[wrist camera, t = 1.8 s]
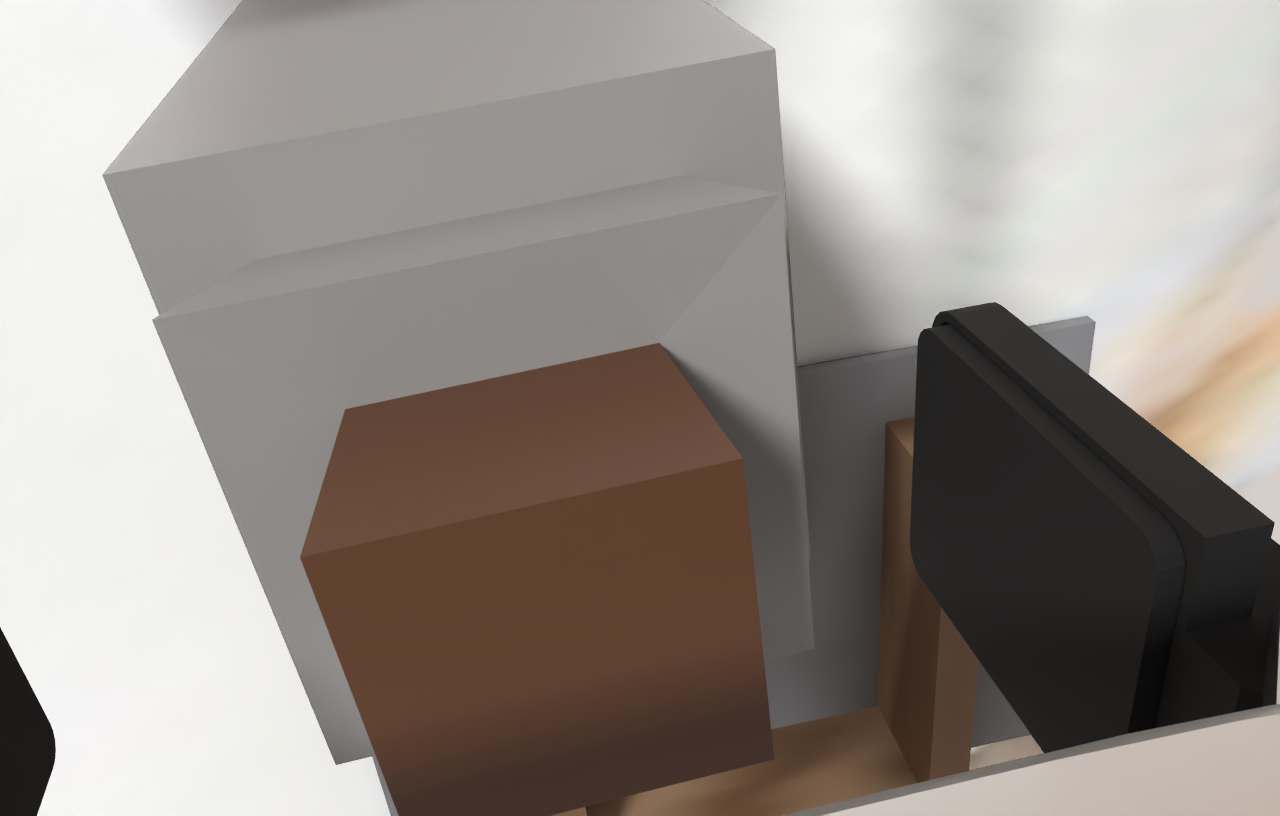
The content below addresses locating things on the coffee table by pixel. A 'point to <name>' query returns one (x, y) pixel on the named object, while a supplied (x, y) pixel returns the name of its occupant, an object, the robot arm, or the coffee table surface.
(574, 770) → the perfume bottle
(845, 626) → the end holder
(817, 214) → the coffee table surface
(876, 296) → the coffee table surface
